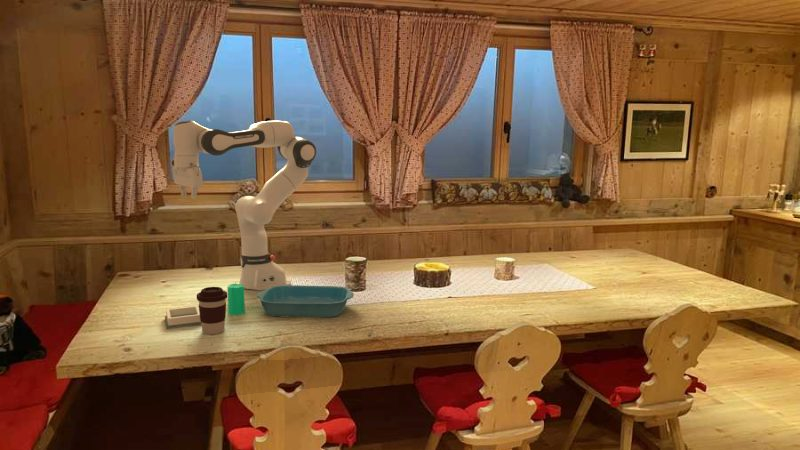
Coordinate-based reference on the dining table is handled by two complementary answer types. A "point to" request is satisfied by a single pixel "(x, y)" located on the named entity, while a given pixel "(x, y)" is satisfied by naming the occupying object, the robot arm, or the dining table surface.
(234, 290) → the candle
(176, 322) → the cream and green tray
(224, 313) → the coffee cup
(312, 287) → the casserole dish
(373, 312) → the dining table surface
